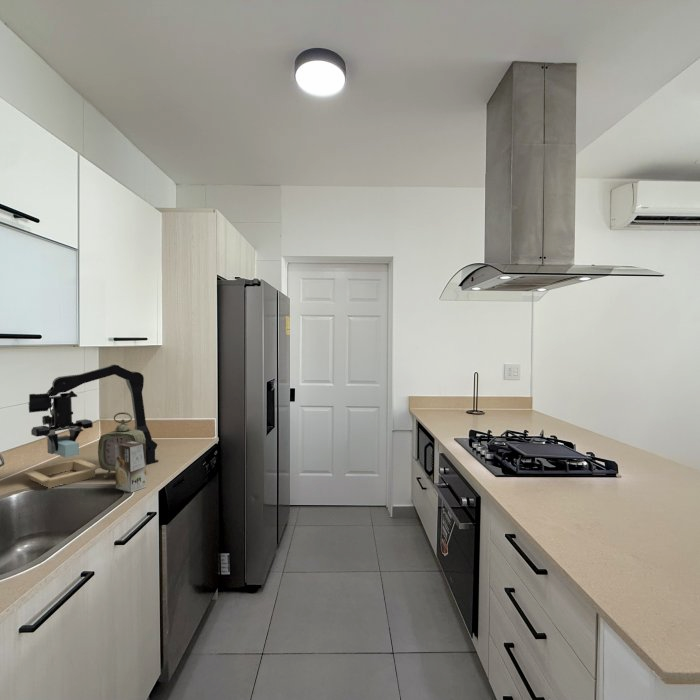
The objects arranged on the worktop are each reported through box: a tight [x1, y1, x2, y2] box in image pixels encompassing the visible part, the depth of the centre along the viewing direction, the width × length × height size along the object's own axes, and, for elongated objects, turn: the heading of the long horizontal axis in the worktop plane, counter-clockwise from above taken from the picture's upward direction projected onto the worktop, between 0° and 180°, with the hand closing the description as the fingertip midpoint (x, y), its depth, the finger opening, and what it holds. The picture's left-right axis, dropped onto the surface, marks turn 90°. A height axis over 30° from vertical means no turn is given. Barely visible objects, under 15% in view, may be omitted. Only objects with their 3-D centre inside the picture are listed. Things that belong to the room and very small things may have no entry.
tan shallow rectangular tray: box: [23, 459, 101, 490], centre depth 155 cm, size 21×19×4 cm
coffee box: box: [115, 441, 147, 493], centre depth 145 cm, size 9×6×16 cm
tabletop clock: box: [97, 412, 146, 479], centre depth 157 cm, size 14×9×25 cm, turn 92°
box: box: [46, 434, 80, 459], centre depth 156 cm, size 14×6×6 cm, turn 56°
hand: (63, 449), depth 156 cm, fingers closed on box, 4 cm apart
